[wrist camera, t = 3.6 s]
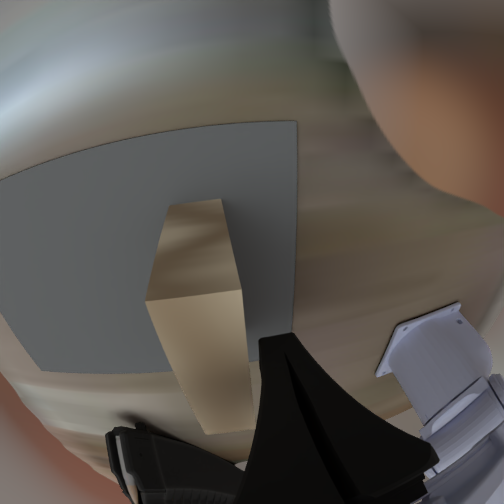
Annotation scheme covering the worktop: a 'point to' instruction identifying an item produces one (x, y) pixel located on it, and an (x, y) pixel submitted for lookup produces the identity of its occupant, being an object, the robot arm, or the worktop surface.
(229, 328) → the tile
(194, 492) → the magazine
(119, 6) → the worktop surface
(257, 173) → the mat
